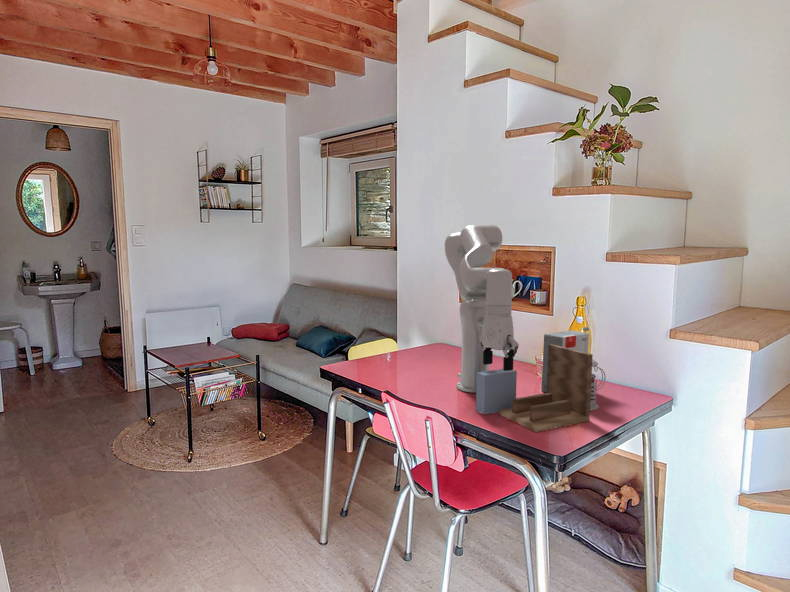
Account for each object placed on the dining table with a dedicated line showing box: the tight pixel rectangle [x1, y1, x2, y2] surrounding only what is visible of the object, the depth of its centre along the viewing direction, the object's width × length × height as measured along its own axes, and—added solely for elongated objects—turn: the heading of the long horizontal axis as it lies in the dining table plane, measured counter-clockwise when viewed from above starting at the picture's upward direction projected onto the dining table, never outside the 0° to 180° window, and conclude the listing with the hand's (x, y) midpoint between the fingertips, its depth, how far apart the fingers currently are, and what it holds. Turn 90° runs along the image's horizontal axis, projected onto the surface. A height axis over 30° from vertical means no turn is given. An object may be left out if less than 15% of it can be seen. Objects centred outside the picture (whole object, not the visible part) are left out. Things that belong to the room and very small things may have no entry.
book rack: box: [498, 344, 593, 433], centre depth 155 cm, size 16×20×20 cm
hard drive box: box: [540, 330, 590, 393], centre depth 183 cm, size 16×8×20 cm, turn 126°
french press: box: [582, 326, 607, 411], centre depth 167 cm, size 10×12×25 cm
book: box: [475, 368, 518, 415], centre depth 163 cm, size 4×12×12 cm, turn 117°
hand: (497, 367), depth 161 cm, fingers open, 9 cm apart
